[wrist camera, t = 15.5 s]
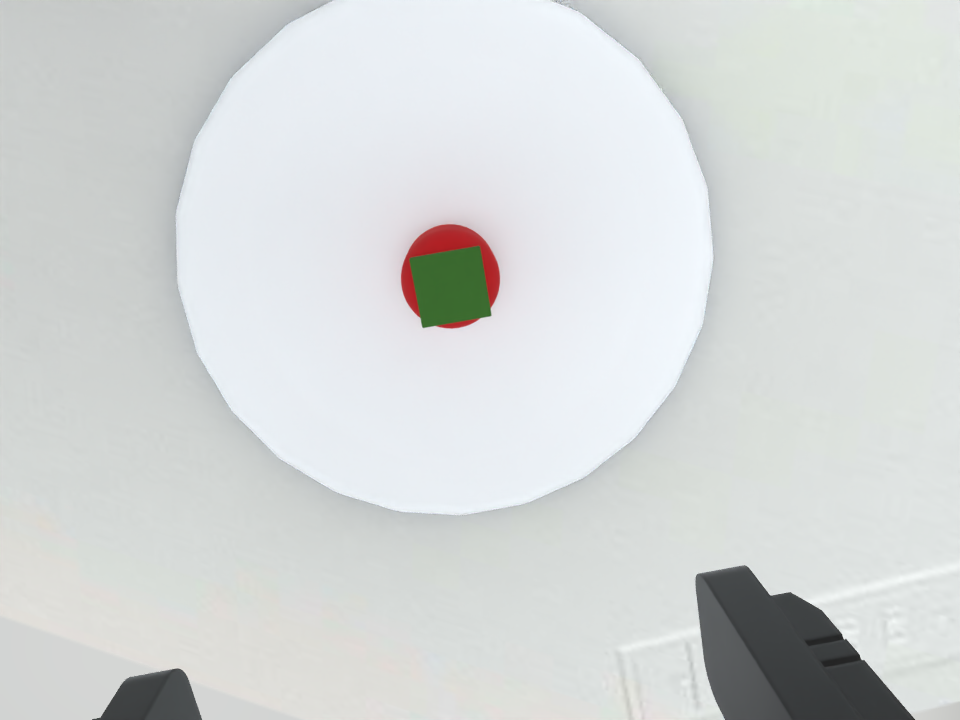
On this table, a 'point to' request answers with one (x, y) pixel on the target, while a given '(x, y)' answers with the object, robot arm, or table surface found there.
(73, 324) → the table surface
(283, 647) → the table surface
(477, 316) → the strawberry
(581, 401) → the plate
